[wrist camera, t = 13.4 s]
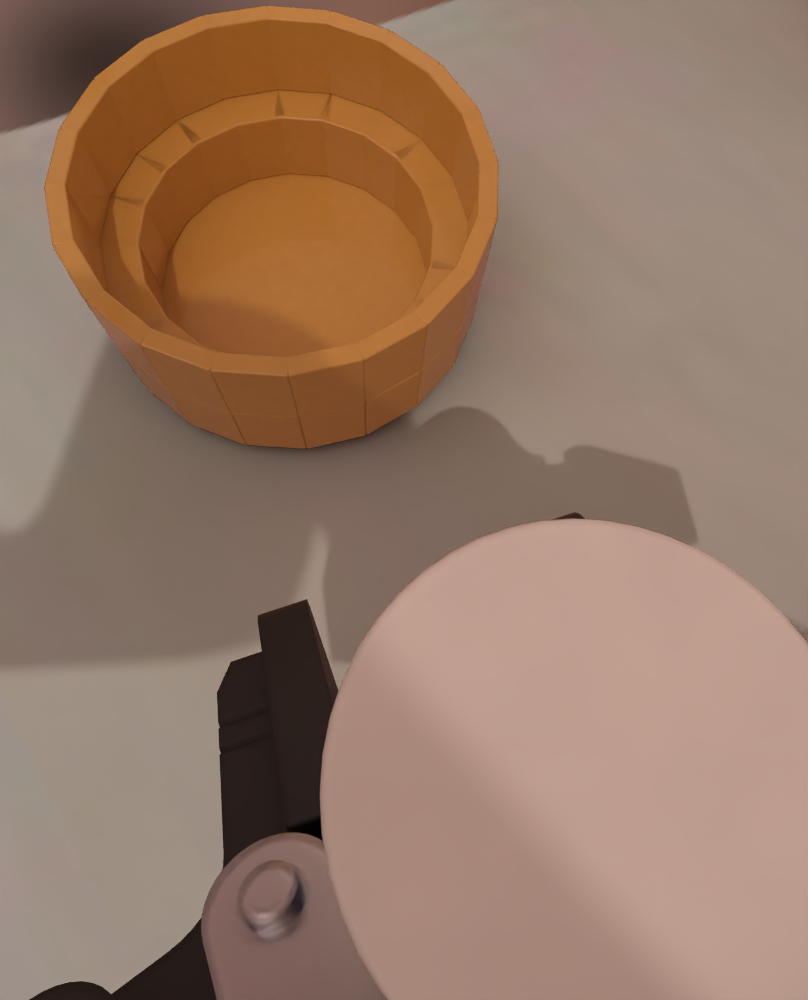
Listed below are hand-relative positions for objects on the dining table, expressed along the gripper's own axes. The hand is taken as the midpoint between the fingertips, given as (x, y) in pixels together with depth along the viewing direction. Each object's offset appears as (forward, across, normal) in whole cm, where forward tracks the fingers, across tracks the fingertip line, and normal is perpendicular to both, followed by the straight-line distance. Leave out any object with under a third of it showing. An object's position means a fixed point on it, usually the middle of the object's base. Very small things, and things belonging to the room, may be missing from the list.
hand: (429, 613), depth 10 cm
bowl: (+19, -1, -1) cm, 19 cm away
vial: (+2, 0, +5) cm, 5 cm away
